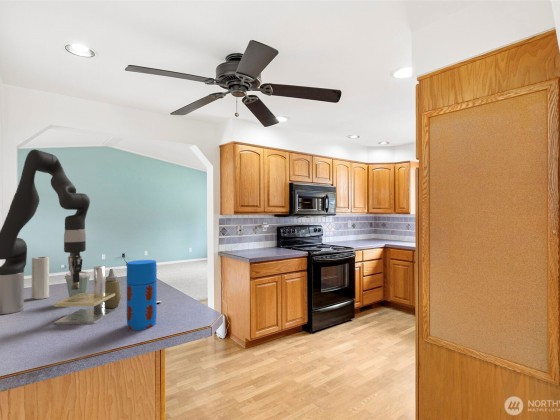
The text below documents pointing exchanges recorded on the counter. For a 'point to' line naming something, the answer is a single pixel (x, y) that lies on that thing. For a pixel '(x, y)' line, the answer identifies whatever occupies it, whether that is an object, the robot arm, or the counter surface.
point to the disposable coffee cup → (82, 283)
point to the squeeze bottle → (112, 290)
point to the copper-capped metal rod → (73, 285)
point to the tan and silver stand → (88, 302)
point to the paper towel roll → (40, 277)
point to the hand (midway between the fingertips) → (74, 281)
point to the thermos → (141, 294)
